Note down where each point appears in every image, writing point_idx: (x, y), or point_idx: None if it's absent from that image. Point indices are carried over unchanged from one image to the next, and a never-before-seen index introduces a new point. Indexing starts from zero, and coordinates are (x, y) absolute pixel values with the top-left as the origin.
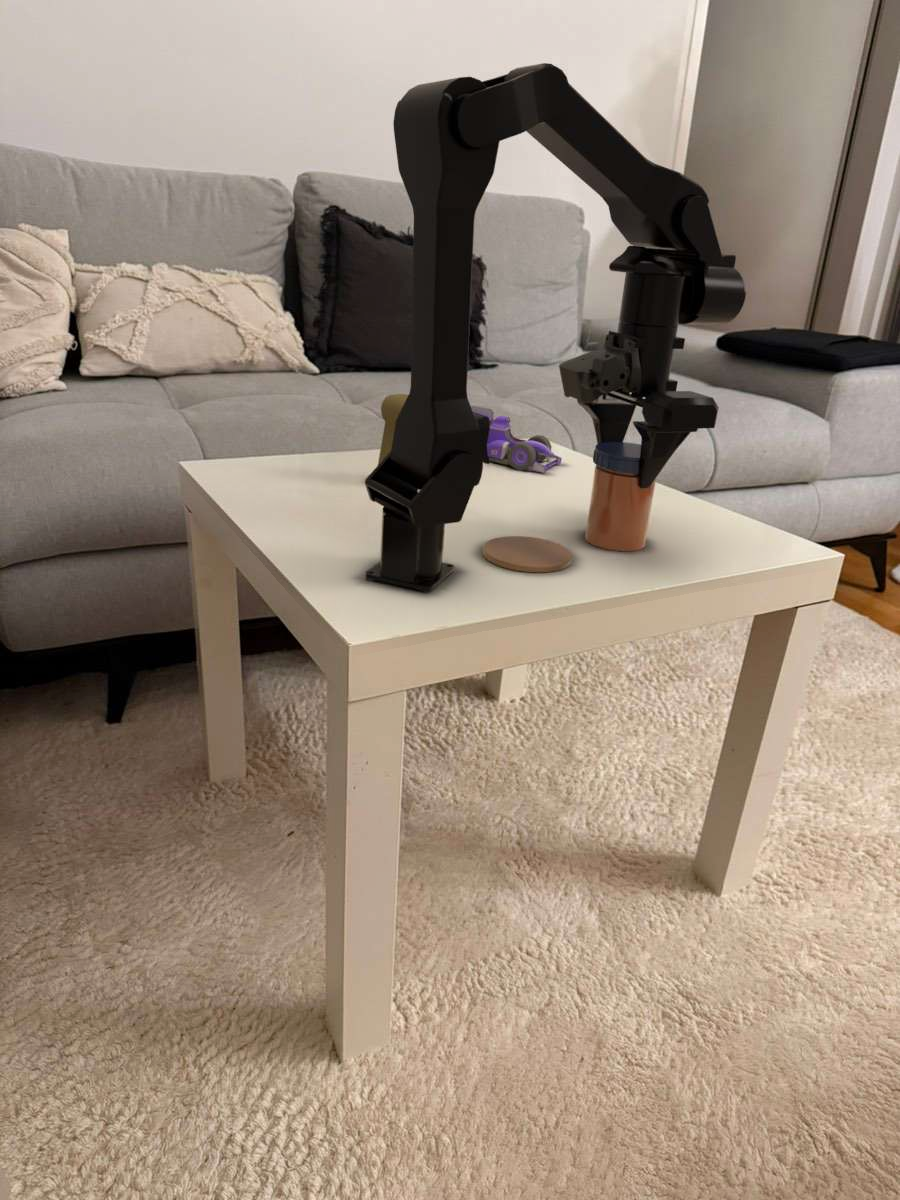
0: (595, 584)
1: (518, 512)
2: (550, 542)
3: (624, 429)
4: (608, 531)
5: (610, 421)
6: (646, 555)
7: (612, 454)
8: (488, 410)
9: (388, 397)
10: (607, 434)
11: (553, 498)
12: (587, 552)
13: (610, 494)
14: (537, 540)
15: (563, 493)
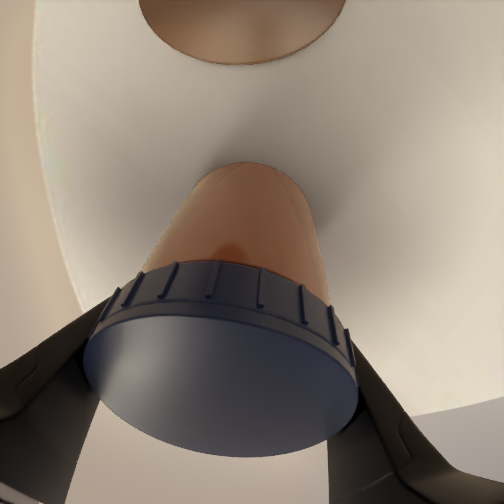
0: (71, 38)
1: (477, 172)
2: (268, 51)
3: (333, 482)
4: (203, 184)
5: (368, 493)
6: (159, 225)
7: (141, 318)
8: None
9: None
10: (362, 443)
11: (475, 289)
12: (210, 117)
13: (186, 224)
14: (293, 31)
15: (473, 317)
